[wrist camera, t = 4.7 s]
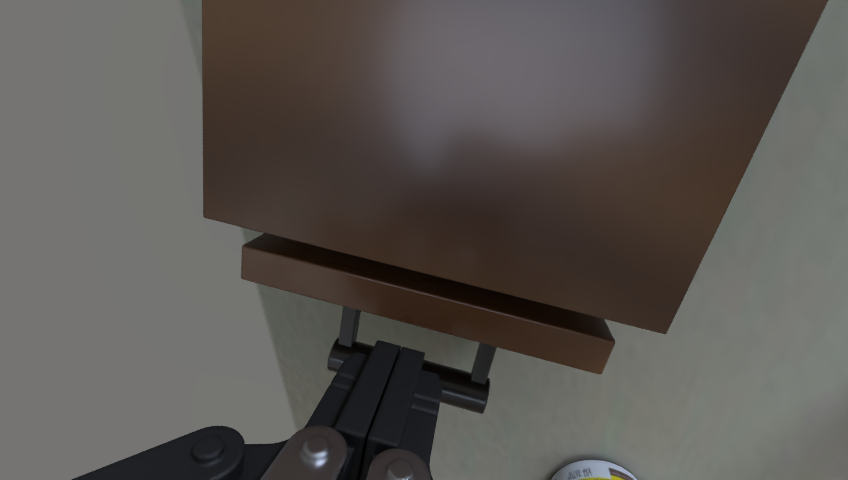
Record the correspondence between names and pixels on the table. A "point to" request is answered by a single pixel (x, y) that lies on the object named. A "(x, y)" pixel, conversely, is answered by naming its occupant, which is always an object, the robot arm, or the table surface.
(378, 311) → the drawer
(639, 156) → the cabinet
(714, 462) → the table surface
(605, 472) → the supplement bottle
